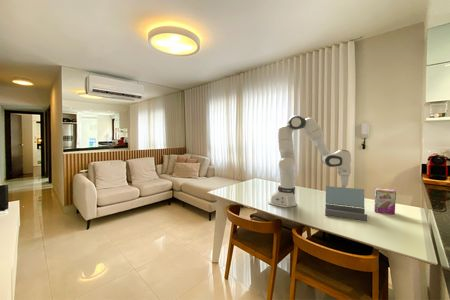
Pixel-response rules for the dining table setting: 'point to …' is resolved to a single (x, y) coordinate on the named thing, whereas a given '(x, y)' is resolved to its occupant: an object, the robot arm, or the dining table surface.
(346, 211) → the cable duct
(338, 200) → the panel
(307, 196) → the dining table surface
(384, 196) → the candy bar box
